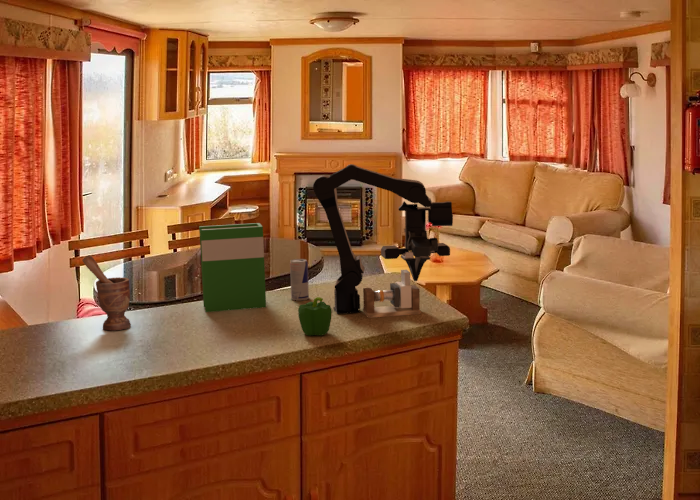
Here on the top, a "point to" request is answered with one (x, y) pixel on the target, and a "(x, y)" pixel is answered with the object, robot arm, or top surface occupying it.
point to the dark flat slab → (395, 294)
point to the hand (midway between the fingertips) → (415, 280)
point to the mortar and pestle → (111, 296)
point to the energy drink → (299, 279)
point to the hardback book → (232, 267)
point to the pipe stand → (388, 295)
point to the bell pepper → (315, 317)
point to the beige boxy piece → (405, 290)
